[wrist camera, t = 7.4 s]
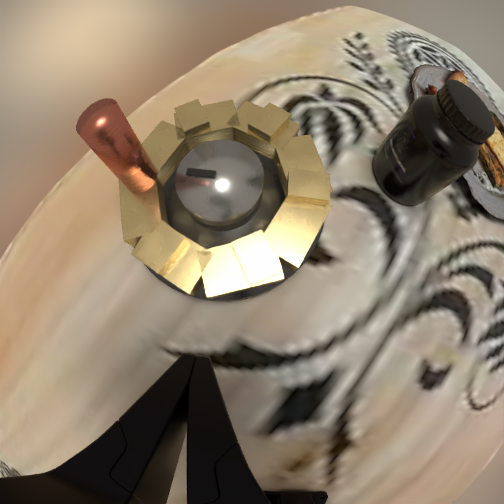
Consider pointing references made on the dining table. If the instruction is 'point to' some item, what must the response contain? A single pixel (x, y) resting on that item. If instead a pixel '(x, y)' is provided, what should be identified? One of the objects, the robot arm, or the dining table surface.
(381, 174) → the supplement bottle
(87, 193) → the dining table surface
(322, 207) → the handwheel
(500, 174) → the food plate
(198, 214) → the flange
